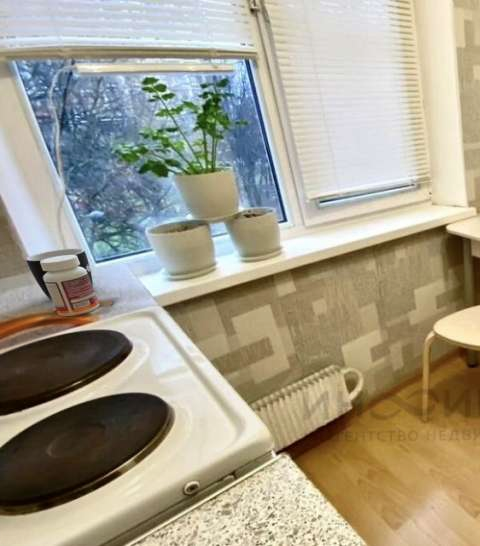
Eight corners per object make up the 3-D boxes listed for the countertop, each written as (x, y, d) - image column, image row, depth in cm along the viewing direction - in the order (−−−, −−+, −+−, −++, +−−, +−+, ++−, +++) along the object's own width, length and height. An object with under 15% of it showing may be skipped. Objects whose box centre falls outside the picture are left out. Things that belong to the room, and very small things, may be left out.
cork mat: (42, 326, 81) (41, 323, 81) (57, 311, 87) (56, 308, 87) (103, 315, 85) (102, 313, 85) (114, 302, 92) (113, 299, 91)
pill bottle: (106, 302, 90) (87, 252, 86) (90, 314, 84) (70, 261, 80) (69, 307, 88) (48, 255, 84) (51, 319, 82) (27, 265, 78)
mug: (104, 295, 95) (88, 252, 92) (47, 308, 89) (28, 263, 85) (91, 284, 102) (77, 244, 99) (38, 295, 95) (20, 253, 92)
